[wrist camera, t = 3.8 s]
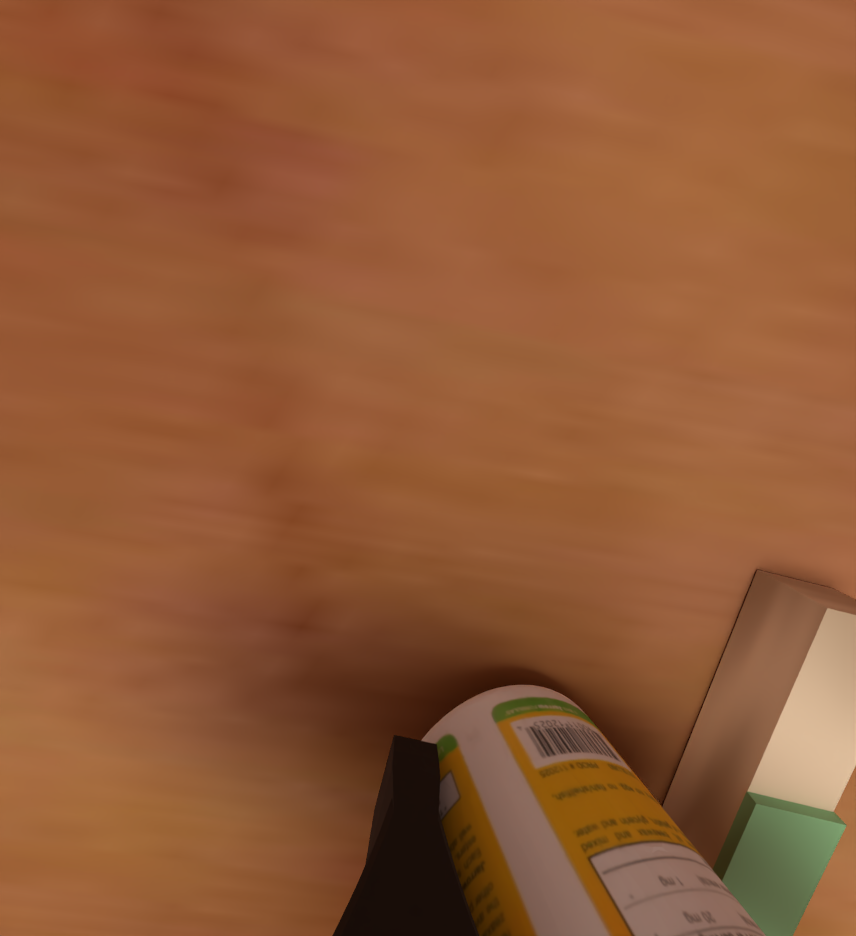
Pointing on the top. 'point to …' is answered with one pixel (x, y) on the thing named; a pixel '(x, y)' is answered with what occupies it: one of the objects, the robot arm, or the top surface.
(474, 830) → the supplement bottle
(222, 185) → the top surface
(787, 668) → the stop rail
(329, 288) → the top surface
